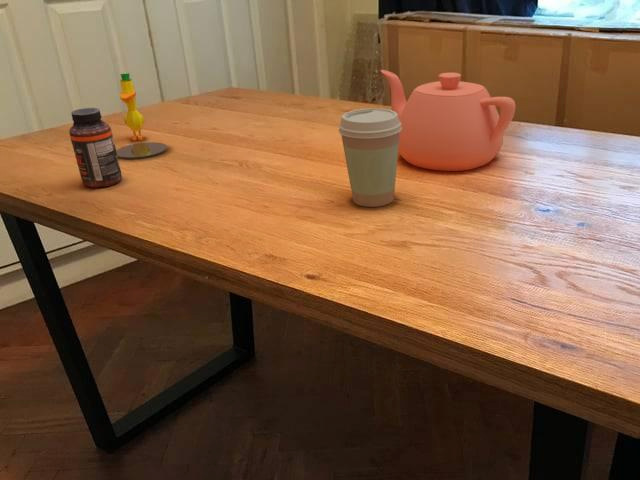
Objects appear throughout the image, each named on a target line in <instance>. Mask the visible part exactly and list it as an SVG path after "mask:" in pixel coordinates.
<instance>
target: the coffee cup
mask: <svg viewBox="0 0 640 480" xmlns="http://www.w3.org/2000/svg"><path fill="white" fill-rule="evenodd" d="M338 128H339V129H338V133H339V134H340V136H341V141H342V147H343V151H344V157H345V163H346V167H347V168H346V169H347V174H348V180H349V186H350V190H351V191H350V192H351V197H352V201H353V203H354V204H356V205H357V206H360V207H364V208H365V207H367V208H377V207H383V206H386V205H389V204H391V203H392V202H394V199H395V191H396V181H397V180H396V179H397V170H398V169H397V168H398V159H399V158H398V157H399V151H398V147H399V134H400V131H401V130H402V127H401V122H400V121H399V118H398V115H397V113H396V112H394V111H392V110H391V109H387V108H377V107H376V108H374V107H373V108H371V107H370V108H361V109H360V108H359V109H353V110H350V111H347V112H345V113H343V114H342V115H341V119H340V123H339V125H338Z"/></svg>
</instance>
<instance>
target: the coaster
mask: <svg viewBox="0 0 640 480" xmlns="http://www.w3.org/2000/svg"><path fill="white" fill-rule="evenodd" d="M168 150H169V149H168V145H166V144H165V143H162V142H155V141H147V142H138V143H132V144H128V145H125V146H122V147H120V148H118V149H116V152H117V156H118V159H121V160H142V159H149V158H154V157H158V156H161V155H162V154H164V153H167V151H168Z"/></svg>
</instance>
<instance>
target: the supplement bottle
mask: <svg viewBox="0 0 640 480" xmlns="http://www.w3.org/2000/svg"><path fill="white" fill-rule="evenodd" d="M70 114H71V118H72V122H73V124H72V126H71V127H70V128H69V131H68V133H69V137H70V141H71V145H72V148H73V153H74V157H75V160H76V165H77V168H78V172H79V175H80V179H81V182H82V184H83V185H84V186H85V187H89V188H93V189H96V188H106V187H110V186H113V185H116V184H118V183H119V182H121V181H122V179H123V175H122V170H121V166H120V162H119V158H118V156H117V152H116V150H117V148H116V145H115V140H114V136H113V132H112V128H111V126H110V124H109V123H108V122H106V121H104V120H102V114H101V111H100V108H97V107H84V108H79V109H75V110H73V111H71V113H70Z"/></svg>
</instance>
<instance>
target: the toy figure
mask: <svg viewBox="0 0 640 480" xmlns="http://www.w3.org/2000/svg"><path fill="white" fill-rule="evenodd" d="M120 78H121V79H120V82H119V84H120V88H121V92H120V93H119V97H120V100H121V101H122V102H123V103H125V105H126V109H127V112H126V114H125V116H124V117H123V120H124V124H125V125H126V126H127V127H128V128H129V129H130V131H132V134H133V135H132V136H131V139H132V141H134V142H135V141H143V139H144V137H143V135H142V131H141V130H142V129H143V126H144V124H145V120H146V119H145V116H144V115H142V114H141V113H140V112H139V111H138V110H137V102H136V99H137V98H136V95H137V91H135V88H134V82H133V81H132V80H133V79H132V78H130V73H129V72H128V73H120ZM136 132H138V135H137V134H136Z"/></svg>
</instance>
